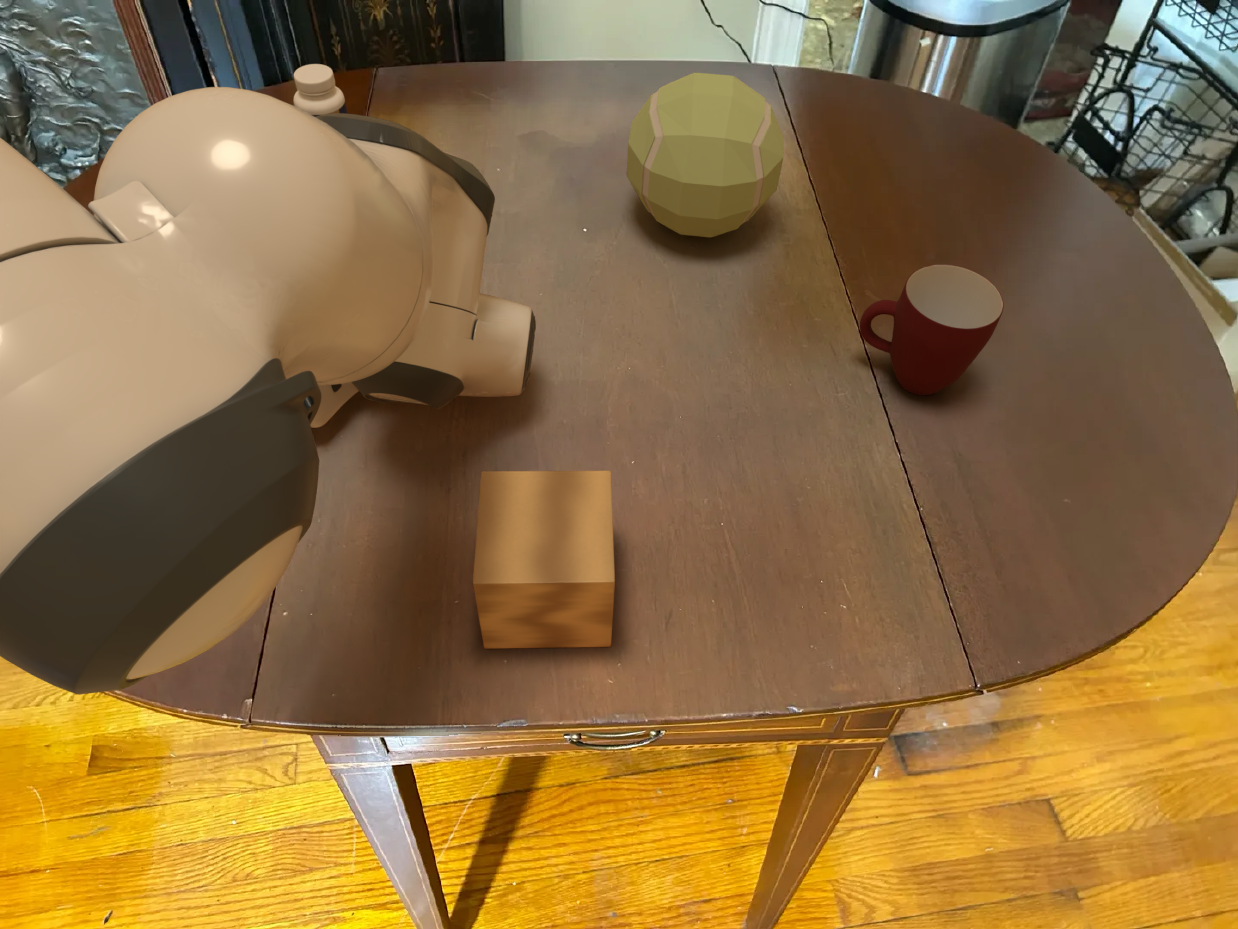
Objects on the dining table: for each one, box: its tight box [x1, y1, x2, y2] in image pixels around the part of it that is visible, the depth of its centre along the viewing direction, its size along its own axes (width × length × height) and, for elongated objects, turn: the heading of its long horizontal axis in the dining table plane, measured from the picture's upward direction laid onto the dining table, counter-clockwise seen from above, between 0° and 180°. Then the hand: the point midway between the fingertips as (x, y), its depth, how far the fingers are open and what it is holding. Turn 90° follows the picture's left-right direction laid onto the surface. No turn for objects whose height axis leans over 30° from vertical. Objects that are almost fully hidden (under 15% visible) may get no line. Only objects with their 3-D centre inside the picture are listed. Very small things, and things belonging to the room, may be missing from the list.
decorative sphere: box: [626, 72, 785, 238], centre depth 90 cm, size 15×15×15 cm
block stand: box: [472, 470, 616, 649], centre depth 64 cm, size 9×9×9 cm
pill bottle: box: [293, 63, 349, 117], centre depth 98 cm, size 5×5×9 cm
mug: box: [859, 263, 1005, 396], centre depth 79 cm, size 10×8×10 cm
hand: (186, 308), depth 77 cm, fingers closed on amber bottle, 5 cm apart
